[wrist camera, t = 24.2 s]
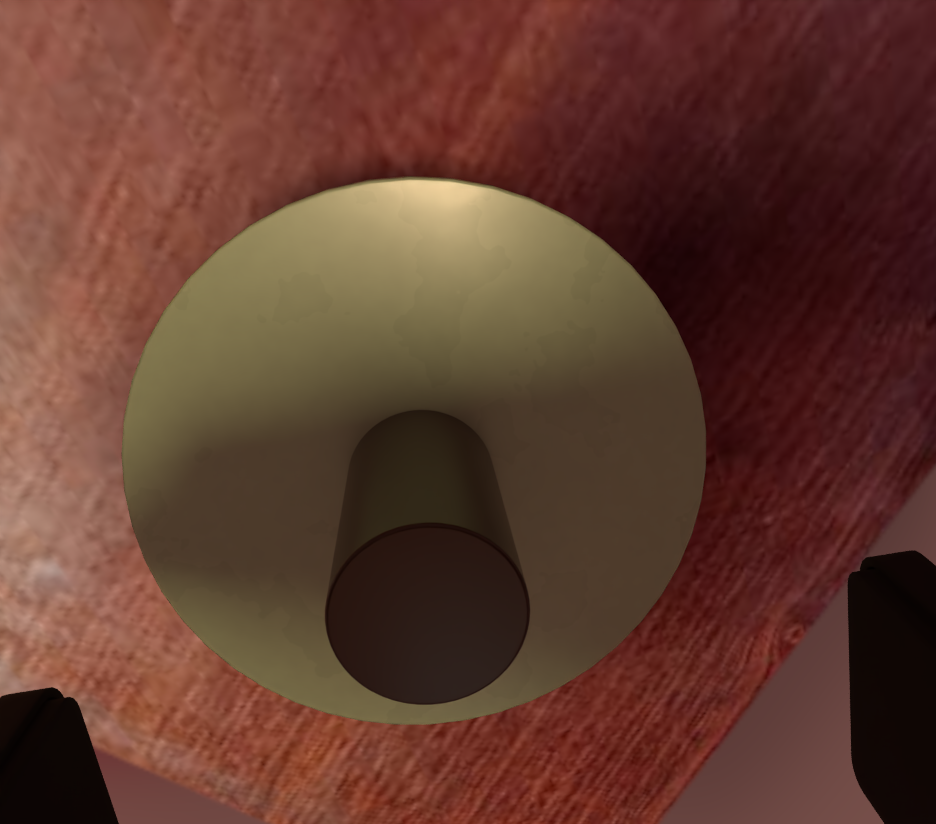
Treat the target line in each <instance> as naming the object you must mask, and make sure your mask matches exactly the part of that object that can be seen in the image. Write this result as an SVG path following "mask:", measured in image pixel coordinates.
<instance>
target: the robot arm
mask: <svg viewBox="0 0 936 824" xmlns="http://www.w3.org/2000/svg"><path fill="white" fill-rule="evenodd" d="M848 621H849V623H848V624H849V667H850V668H849V670H850V713H851V714H850V716H851V756H852V764H853V769H854V772H855V776H856V779H857V781H858V783H859V785H860V787H861V789H862V791H863V793H864V794H865V795H866V797H867V799H868V800H869V801H870V803H871V804H872V806H873V807H874V809H875V810H876V812H877V813H878V814H879V816H880V818H881V819H882V820H883V822H884V824H936V566H935V565H934V564H933V563H932V562H931V561H929V560H928V559H927V558H926V557H924V556H923V555H922V554H921V553H919V552H917V551H905V552H898V553H892V554H886V555H880V556H874V557H867V558H865V559H864V560H863V561H862V564H861V567H860V571H857V572H852V573H851V574H850V575H849V578H848ZM0 824H119V823H118V820H117V817H116V814H115V811H114V808H113V805H112V802H111V799H110V796H109V793H108V790H107V787H106V784H105V781H104V779H103V775H102V773H101V770H100V767H99V764H98V761H97V758H96V755H95V752H94V749H93V746H92V743H91V740H90V737H89V734H88V731H87V728H86V725H85V722H84V719H83V716H82V713H81V710H80V708H79V705H78V703H77V702H76V701H75V699H74V698H71V697H67V698H64V697H63V695H62V693H61V692H60V691H59V690H58V689H55V688H53V687H51V688H45V689H39V690H33V691H26V692H20V693H14V694H8V695H4V696H2V697H1V698H0Z"/></svg>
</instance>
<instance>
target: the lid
mask: <svg viewBox="0 0 936 824" xmlns="http://www.w3.org/2000/svg"><path fill="white" fill-rule="evenodd" d="M122 467H123V480H124V492H125V496H126V501H127V505H128V510H129V514H130V519H131V523H132V527H133V530H134V532H135V535H136V538H137V540H138V543H139V546H140V549H141V551H142V554H143V557H144V559H145V561H146V563H147V565H148V567H149V569H150V571H151V573H152V574H153V576H154V578H155V580H156V582H157V584H158V586H159V587H160V589H161V591H162V593H163V594H164V595H165V597H166V598H167V600H168V601H169V602H170V604H171V605H172V606H173V608H174V609H175V611H176V612H177V613H178V615H179V616H180V617H181V619H182V620H183V621H184V622H185V623H186V624H187V626H188V627H189V628H190V629H191V630H192V631H193V632H194V633H195V634H196V635H197V636H198V637H199V638H200V639H201V640H202V641H203V642H204V644H205V645H206V646H207V647H209V648H210V649H211V650H212V651H214V652H215V653H216V654H217V655H218V656H220V657H221V658H222V659H223V660H224V661H226V662H227V663H228V664H229V665H231V666H232V667H233V668H234V669H236V670H237V671H239V672H241V673H242V674H244V675H245V676H247V677H248V678H250V679H252V680H253V681H255V682H256V683H258V684H259V685H261V686H263V687H265V688H267V689H269V690H271V691H273V692H275V693H277V694H279V695H281V696H283V697H285V698H287V699H289V700H292V701H294V702H296V703H299V704H302V705H305V706H308V707H311V708H314V709H317V710H319V711H322V712H325V713H329V714H333V715H338V716H342V717H347V718H351V719H356V720H360V721H368V722H378V723H387V724H437V723H445V722H454V721H462V720H468V719H472V718H476V717H481V716H485V715H489V714H494V713H498V712H501V711H504V710H507V709H510V708H512V707H515V706H518V705H521V704H524V703H527V702H529V701H532V700H534V699H536V698H538V697H540V696H542V695H544V694H546V693H548V692H550V691H553V690H555V689H557V688H559V687H561V686H563V685H564V684H566V683H567V682H569V681H570V680H572V679H574V678H575V677H577V676H578V675H580V674H582V673H583V672H585V671H586V670H588V669H589V668H591V667H592V666H593V665H595V664H596V663H597V662H598V661H600V660H601V659H602V658H603V657H604V656H606V655H607V654H608V653H609V652H611V651H612V650H613V649H614V648H616V647H617V646H618V645H619V644H620V643H621V642H622V641H623V640H624V639H625V638H626V637H627V636H628V635H629V634H630V633H631V631H632V630H633V629H634V628H635V627H636V626H637V625H638V624H639V623H640V622H641V621H642V620H643V618H644V617H645V616H646V614H647V613H648V612H649V611H650V609H651V608H652V607H653V605H654V604H655V603H656V601H657V600H658V599H659V597H660V596H661V595H662V593H663V591H664V590H665V588H666V586H667V584H668V583H669V581H670V579H671V578H672V576H673V574H674V572H675V571H676V569H677V567H678V566H679V563H680V561H681V559H682V556H683V554H684V551H685V549H686V547H687V544H688V542H689V540H690V537H691V535H692V532H693V528H694V525H695V521H696V517H697V514H698V510H699V506H700V503H701V499H702V491H703V484H704V476H705V469H706V426H705V419H704V412H703V405H702V398H701V393H700V389H699V386H698V382H697V379H696V375H695V372H694V368H693V365H692V362H691V359H690V356H689V354H688V352H687V350H686V347H685V345H684V343H683V341H682V339H681V336H680V334H679V332H678V330H677V327H676V325H675V324H674V322H673V321H672V319H671V317H670V316H669V314H668V313H667V311H666V310H665V308H664V306H663V305H662V303H661V302H660V300H659V298H658V297H657V295H656V294H655V293H654V291H653V290H652V289H651V288H650V287H649V286H648V284H647V283H646V282H645V281H644V280H643V278H642V277H641V276H640V275H639V274H638V273H637V271H636V270H635V269H634V268H633V267H632V265H631V264H629V263H628V262H627V261H626V260H625V259H624V258H623V257H622V256H620V255H619V254H618V253H617V252H616V251H615V250H614V249H613V248H612V247H610V246H609V245H608V244H607V243H606V242H605V241H604V240H603V239H601V238H600V237H598V236H597V235H595V234H594V233H592V232H591V231H589V230H588V229H586V228H585V227H583V226H582V225H580V224H579V223H577V222H576V221H574V220H573V219H571V218H570V217H568V216H566V215H564V214H562V213H560V212H558V211H556V210H554V209H552V208H550V207H548V206H546V205H544V204H542V203H540V202H537V201H535V200H533V199H531V198H529V197H526V196H523V195H520V194H517V193H513V192H510V191H507V190H504V189H501V188H498V187H495V186H492V185H487V184H482V183H476V182H471V181H465V180H460V179H454V178H443V177H421V176H404V177H393V178H382V179H371V180H365V181H361V182H356V183H352V184H348V185H343V186H339V187H335V188H330V189H327V190H324V191H321V192H319V193H316V194H314V195H311V196H308V197H306V198H303V199H300V200H298V201H295V202H292V203H290V204H288V205H286V206H284V207H282V208H281V209H279V210H277V211H275V212H273V213H271V214H270V215H268V216H266V217H264V218H262V219H260V220H259V221H257V222H255V223H253V224H251V225H250V226H248V227H247V228H246V229H244V230H243V231H242V232H240V233H239V234H238V235H236V236H235V237H234V238H232V239H231V240H230V241H228V242H227V243H225V244H224V245H223V246H221V247H220V248H219V249H217V250H216V251H215V252H214V253H213V254H212V255H211V256H210V257H209V258H208V259H207V260H206V261H205V262H204V263H203V264H202V265H201V266H200V267H199V268H198V269H197V270H196V271H195V272H194V273H193V274H192V275H191V276H190V277H189V278H188V279H187V281H186V282H185V283H184V285H183V286H182V287H181V289H180V290H179V291H178V293H177V294H176V295H175V297H174V298H173V299H172V301H171V302H170V303H169V305H168V306H167V307H166V308H165V310H164V312H163V313H162V315H161V317H160V319H159V321H158V322H157V324H156V326H155V328H154V330H153V332H152V333H151V335H150V337H149V339H148V341H147V342H146V344H145V347H144V350H143V352H142V355H141V358H140V360H139V363H138V366H137V368H136V371H135V374H134V376H133V379H132V383H131V387H130V392H129V396H128V401H127V406H126V410H125V415H124V425H123V440H122Z"/></svg>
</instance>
